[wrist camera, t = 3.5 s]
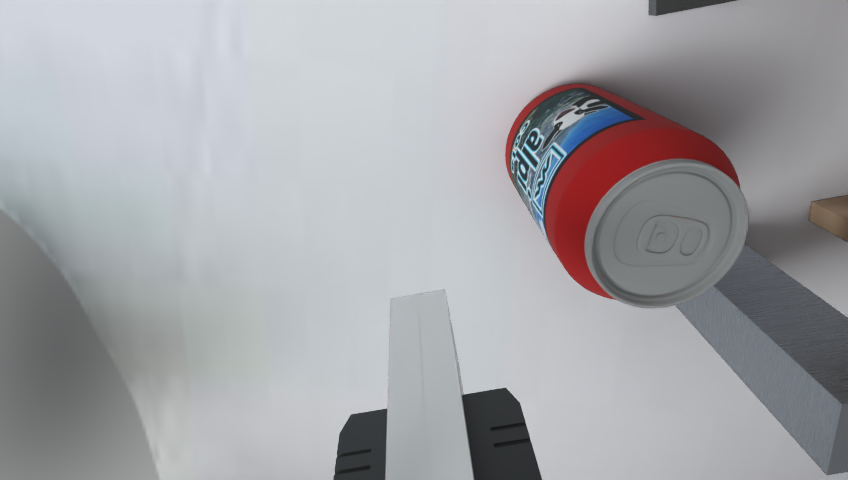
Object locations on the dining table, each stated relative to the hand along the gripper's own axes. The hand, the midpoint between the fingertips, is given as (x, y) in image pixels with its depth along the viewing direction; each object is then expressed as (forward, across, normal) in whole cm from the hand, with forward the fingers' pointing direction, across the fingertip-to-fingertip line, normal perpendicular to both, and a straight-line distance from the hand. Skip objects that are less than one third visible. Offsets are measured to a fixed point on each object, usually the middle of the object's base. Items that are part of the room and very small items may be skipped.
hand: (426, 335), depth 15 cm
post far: (+15, +15, -9) cm, 23 cm away
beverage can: (+16, +8, 0) cm, 18 cm away
